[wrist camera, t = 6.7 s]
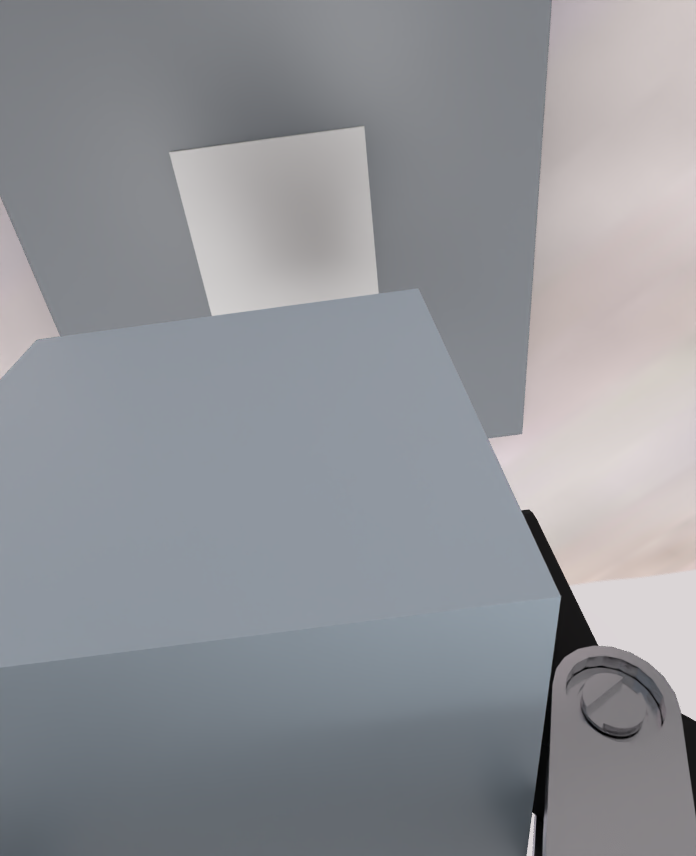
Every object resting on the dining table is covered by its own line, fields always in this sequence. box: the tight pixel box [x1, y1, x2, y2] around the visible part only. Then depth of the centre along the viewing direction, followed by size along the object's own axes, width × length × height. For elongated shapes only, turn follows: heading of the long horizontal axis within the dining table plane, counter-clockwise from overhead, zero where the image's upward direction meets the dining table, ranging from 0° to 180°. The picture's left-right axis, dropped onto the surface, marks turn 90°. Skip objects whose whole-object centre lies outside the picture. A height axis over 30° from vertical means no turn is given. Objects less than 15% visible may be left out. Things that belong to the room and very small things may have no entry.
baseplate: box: [0, 0, 552, 438], centre depth 24 cm, size 20×20×1 cm
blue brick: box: [0, 288, 561, 856], centre depth 9 cm, size 8×6×6 cm
